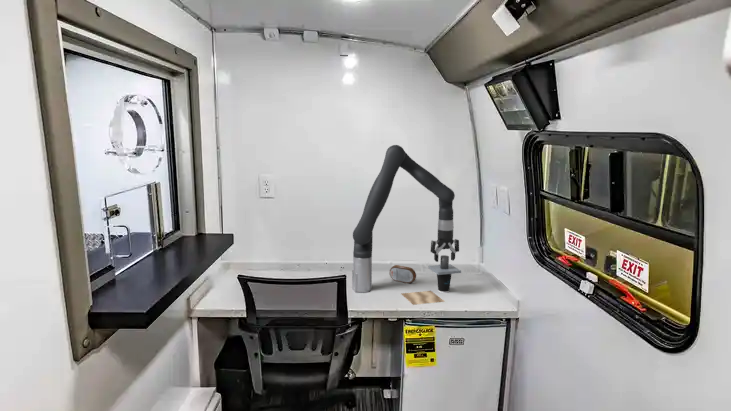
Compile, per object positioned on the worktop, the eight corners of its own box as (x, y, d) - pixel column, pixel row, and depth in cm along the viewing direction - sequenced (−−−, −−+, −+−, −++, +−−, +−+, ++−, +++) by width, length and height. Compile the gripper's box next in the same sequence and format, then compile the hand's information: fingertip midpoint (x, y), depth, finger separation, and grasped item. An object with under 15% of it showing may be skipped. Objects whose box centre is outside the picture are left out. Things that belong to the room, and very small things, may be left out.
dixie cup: (449, 295, 226) (450, 273, 225) (433, 293, 230) (434, 271, 228) (453, 290, 234) (454, 269, 232) (437, 288, 237) (438, 267, 235)
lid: (438, 274, 223) (438, 260, 222) (428, 268, 234) (428, 254, 233) (461, 272, 226) (461, 258, 225) (449, 266, 237) (450, 252, 236)
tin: (416, 283, 245) (416, 268, 244) (413, 285, 242) (414, 269, 241) (391, 278, 253) (391, 263, 252) (388, 280, 250) (388, 265, 249)
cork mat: (412, 305, 212) (413, 304, 212) (400, 294, 227) (400, 293, 227) (445, 302, 217) (445, 301, 217) (430, 291, 232) (430, 290, 232)
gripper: (455, 226, 233) (454, 258, 235) (428, 227, 229) (428, 259, 231) (462, 229, 225) (461, 261, 228) (435, 230, 221) (434, 263, 224)
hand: (444, 260), depth 229 cm, fingers open, 8 cm apart
